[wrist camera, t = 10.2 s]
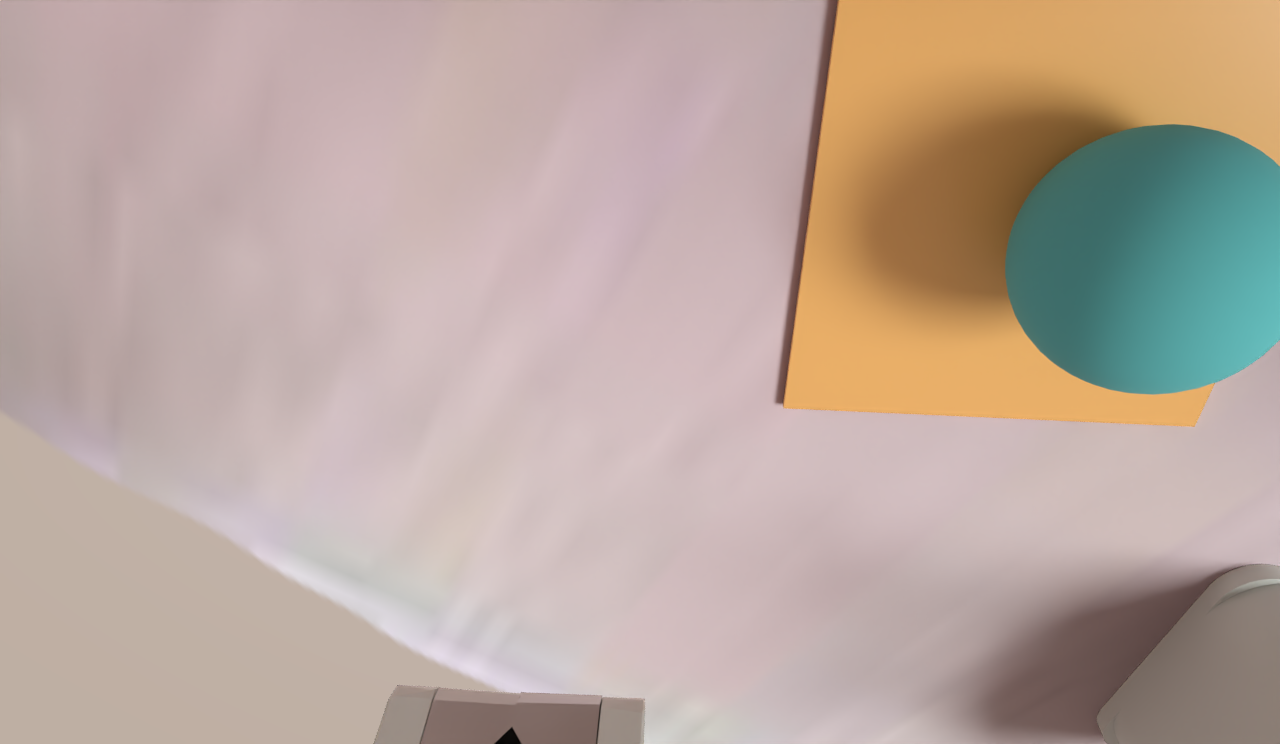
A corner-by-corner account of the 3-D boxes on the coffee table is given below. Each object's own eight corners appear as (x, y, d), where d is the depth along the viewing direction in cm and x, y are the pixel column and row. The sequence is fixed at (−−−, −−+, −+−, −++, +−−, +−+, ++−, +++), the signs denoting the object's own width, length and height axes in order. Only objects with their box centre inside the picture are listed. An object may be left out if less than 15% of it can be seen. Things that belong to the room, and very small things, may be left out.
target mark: (1396, -15, 19) (1402, -14, 19) (1191, 422, 26) (1194, 426, 26) (841, -31, 19) (843, -29, 19) (782, 404, 26) (783, 408, 26)
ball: (1249, 199, 15) (957, 144, 19) (1185, 483, 18) (945, 377, 22) (1410, 113, 17) (1118, 82, 22) (1331, 374, 20) (1088, 299, 25)
